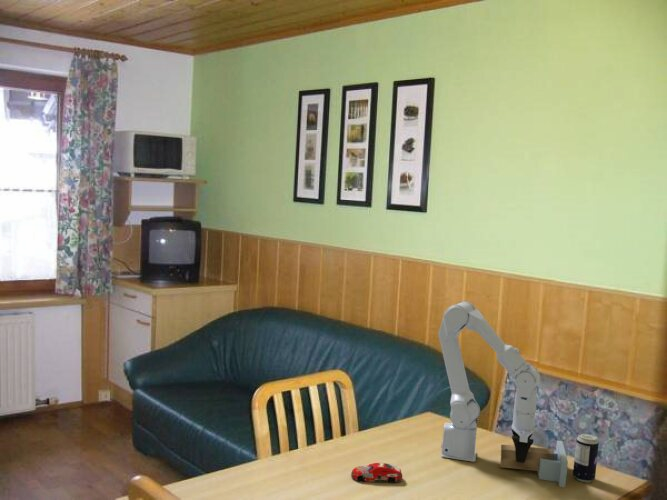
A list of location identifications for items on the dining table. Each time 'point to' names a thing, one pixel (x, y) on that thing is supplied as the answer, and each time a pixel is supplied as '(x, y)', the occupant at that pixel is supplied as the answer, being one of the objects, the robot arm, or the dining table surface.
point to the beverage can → (585, 457)
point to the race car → (377, 473)
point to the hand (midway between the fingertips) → (520, 459)
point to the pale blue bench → (555, 466)
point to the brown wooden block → (531, 460)
